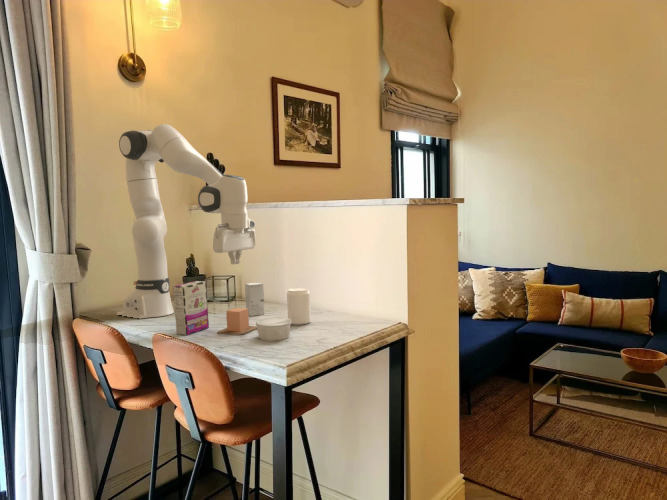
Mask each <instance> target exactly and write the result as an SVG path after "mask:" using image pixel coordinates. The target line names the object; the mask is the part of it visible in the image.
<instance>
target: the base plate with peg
mask: <svg viewBox="0 0 667 500" xmlns="http://www.w3.org/2000/svg"><path fill="white" fill-rule="evenodd" d="M256 330H258V329H257V326H256V325H255V326H254V325H249V328H248V329H245V330H243V331H241V332H240V331H228V330H227V327H226V328H223V329H221V330H219V331H218V330H217V332H216V334H222V335H223V334H224V335H235V336H245V335H247V334H249V333H252V332H253V331H256Z"/></svg>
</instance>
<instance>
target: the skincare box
mask: <svg viewBox="0 0 667 500" xmlns="http://www.w3.org/2000/svg"><path fill="white" fill-rule="evenodd" d="M244 286H245V287H244V289H245V290H244V291H245V292H244V293H245V309H248V315H249V317H253V316H261V315H265V299H264V296H265V295H264V283H263V282H249V283H245V284H244Z"/></svg>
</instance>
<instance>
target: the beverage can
mask: <svg viewBox="0 0 667 500" xmlns="http://www.w3.org/2000/svg"><path fill="white" fill-rule="evenodd" d="M287 290H288V291H287V292H286V293H287V294H286V298H287V299H286V300H287V301H286V303H287V319H290V320H291V325H294V326H296V325H297V326H300V325H307V324H309V323H310V322H312V313H311V311H312V310H311V292H310V290H309V288H307V287H291V288H288V289H287Z"/></svg>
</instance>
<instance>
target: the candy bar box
mask: <svg viewBox="0 0 667 500" xmlns="http://www.w3.org/2000/svg"><path fill="white" fill-rule="evenodd" d="M172 290H173V302H174V303H173V304H174V305H173V306H174V314H175V316H174V317H175V327H176V328H175V331H176V332H175V333H176V335H178V336H179V335H180V336H190V335H192V334H196V333H199V332H200V331H203V330H206V329H208V328H210V326H209V309H208V296H207V293H208V292H207V282H206V281H204V280H202V281H201V280H200V281H199V280H195V281H191V282H187V283H181V284H177V285H174V286H172Z"/></svg>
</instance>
